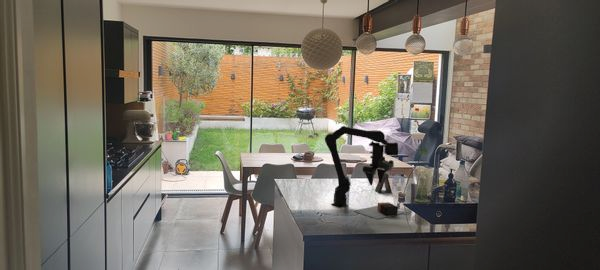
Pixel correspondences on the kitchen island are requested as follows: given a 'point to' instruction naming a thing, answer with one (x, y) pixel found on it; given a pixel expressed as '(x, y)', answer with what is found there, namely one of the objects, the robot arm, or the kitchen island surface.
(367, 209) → the mat
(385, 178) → the brown a-shaped stand
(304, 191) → the kitchen island surface
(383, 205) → the battery
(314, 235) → the kitchen island surface
